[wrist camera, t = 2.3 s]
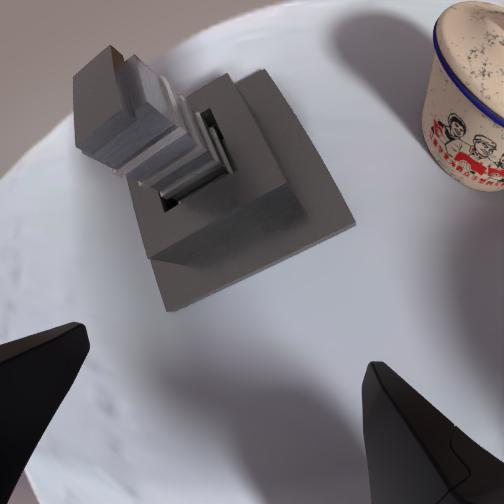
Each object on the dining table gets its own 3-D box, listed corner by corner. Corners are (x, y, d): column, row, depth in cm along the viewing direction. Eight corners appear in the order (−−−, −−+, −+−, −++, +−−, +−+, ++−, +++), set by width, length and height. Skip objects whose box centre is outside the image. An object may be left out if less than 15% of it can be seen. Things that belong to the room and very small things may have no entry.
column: (252, 194, 21) (136, 96, 9) (203, 221, 22) (63, 158, 10) (227, 139, 22) (123, 34, 11) (183, 166, 23) (63, 86, 12)
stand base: (355, 225, 19) (353, 196, 14) (174, 311, 23) (119, 313, 17) (268, 75, 23) (241, 27, 17) (131, 160, 26) (84, 135, 21)
